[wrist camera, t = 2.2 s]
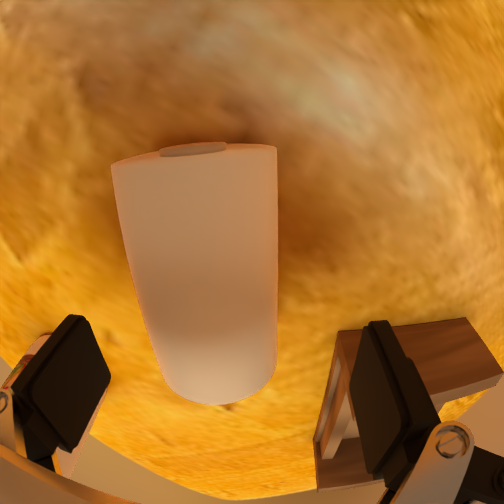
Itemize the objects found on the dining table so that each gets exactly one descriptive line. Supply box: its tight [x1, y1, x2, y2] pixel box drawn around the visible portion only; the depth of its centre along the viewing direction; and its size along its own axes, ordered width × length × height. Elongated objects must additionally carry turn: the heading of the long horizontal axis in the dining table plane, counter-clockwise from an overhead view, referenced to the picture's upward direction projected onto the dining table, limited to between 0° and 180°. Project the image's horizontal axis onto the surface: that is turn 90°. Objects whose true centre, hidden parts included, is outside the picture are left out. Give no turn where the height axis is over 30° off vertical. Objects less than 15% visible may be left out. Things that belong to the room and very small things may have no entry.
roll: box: [111, 142, 278, 405], centre depth 12 cm, size 10×6×6 cm, turn 2°
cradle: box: [313, 317, 504, 492], centre depth 17 cm, size 14×10×6 cm
